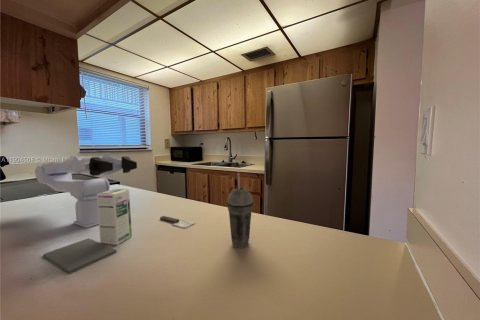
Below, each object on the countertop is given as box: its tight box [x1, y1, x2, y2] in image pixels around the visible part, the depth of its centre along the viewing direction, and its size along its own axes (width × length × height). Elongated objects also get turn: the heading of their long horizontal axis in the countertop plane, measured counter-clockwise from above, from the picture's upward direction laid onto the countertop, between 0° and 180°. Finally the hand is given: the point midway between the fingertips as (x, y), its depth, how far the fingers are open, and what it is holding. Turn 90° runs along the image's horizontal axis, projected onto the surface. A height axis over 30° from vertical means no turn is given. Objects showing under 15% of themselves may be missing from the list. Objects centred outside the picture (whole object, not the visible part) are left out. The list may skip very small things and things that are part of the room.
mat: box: [42, 237, 117, 274], centre depth 52 cm, size 14×10×1 cm
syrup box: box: [97, 188, 133, 246], centre depth 59 cm, size 6×6×14 cm
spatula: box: [159, 215, 196, 229], centre depth 73 cm, size 14×5×1 cm, turn 61°
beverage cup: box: [226, 172, 254, 249], centre depth 56 cm, size 7×7×20 cm
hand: (124, 165), depth 63 cm, fingers open, 7 cm apart
